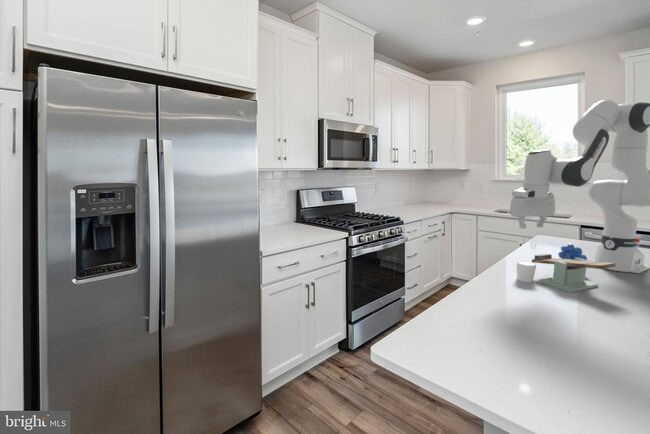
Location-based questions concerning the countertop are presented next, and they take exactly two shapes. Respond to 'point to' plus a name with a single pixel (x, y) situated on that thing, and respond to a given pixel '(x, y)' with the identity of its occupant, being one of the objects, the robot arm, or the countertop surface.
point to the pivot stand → (569, 277)
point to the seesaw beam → (572, 262)
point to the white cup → (525, 271)
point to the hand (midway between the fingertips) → (531, 227)
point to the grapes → (571, 253)
